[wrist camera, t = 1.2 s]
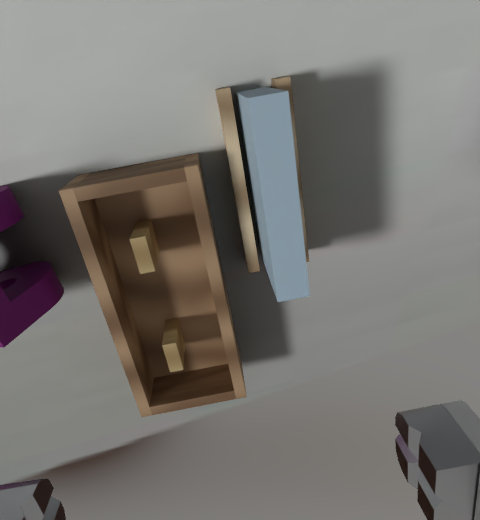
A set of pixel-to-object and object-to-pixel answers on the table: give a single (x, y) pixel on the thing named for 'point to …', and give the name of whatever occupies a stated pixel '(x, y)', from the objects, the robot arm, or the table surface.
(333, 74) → the table surface
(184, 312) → the box
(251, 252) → the door stand
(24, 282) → the mounting bracket
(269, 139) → the door
